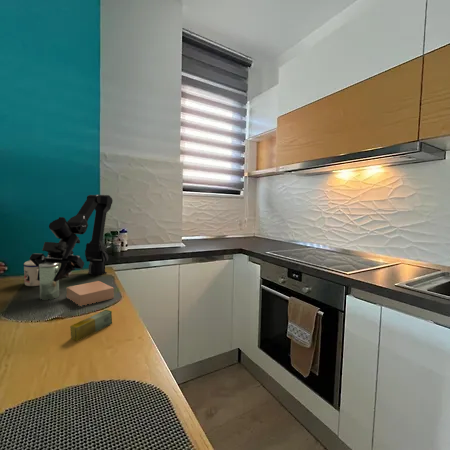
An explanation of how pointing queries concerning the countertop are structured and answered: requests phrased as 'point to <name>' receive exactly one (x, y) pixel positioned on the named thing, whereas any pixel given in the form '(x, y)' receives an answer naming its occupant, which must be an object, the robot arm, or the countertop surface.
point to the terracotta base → (90, 293)
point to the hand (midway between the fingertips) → (46, 280)
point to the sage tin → (48, 280)
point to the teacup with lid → (31, 274)
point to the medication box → (91, 325)
